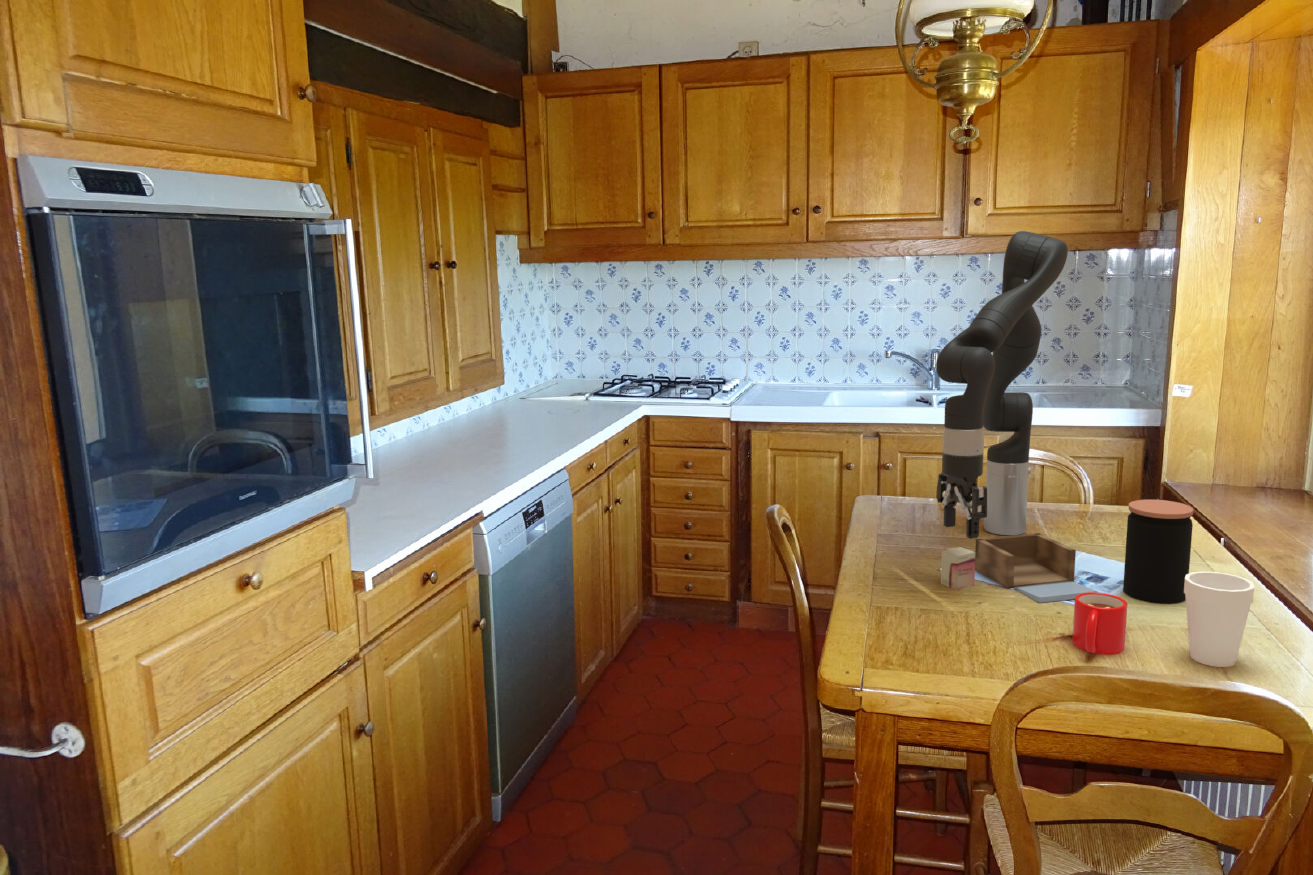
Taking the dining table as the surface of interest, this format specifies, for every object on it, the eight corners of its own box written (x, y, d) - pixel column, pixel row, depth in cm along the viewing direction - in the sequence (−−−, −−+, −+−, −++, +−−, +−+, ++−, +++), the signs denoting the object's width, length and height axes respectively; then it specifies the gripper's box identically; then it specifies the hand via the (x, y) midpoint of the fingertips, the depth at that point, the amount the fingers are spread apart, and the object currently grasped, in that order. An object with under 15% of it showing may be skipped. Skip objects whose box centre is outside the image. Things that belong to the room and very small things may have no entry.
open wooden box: (974, 573, 189) (975, 539, 187) (1037, 567, 192) (1038, 533, 190) (1007, 593, 177) (1009, 556, 176) (1073, 586, 180) (1075, 549, 179)
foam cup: (1183, 666, 144) (1190, 588, 141) (1174, 643, 152) (1179, 569, 150) (1254, 674, 140) (1261, 593, 138) (1240, 650, 149) (1247, 574, 146)
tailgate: (1013, 586, 177) (1038, 597, 169) (1070, 580, 179) (1098, 590, 171) (1013, 591, 177) (1038, 602, 169) (1070, 585, 179) (1098, 596, 171)
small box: (956, 594, 178) (957, 555, 176) (939, 588, 181) (940, 550, 180) (975, 589, 180) (976, 551, 178) (958, 583, 184) (959, 545, 182)
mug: (1063, 657, 148) (1066, 611, 147) (1076, 632, 158) (1079, 589, 157) (1117, 668, 144) (1120, 620, 143) (1127, 641, 154) (1130, 596, 152)
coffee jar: (1180, 591, 175) (1187, 500, 172) (1192, 611, 165) (1199, 515, 162) (1118, 587, 179) (1124, 497, 176) (1126, 606, 169) (1133, 512, 166)
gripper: (1001, 455, 169) (998, 540, 172) (961, 442, 183) (959, 521, 186) (964, 458, 168) (962, 543, 171) (926, 445, 182) (925, 524, 184)
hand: (960, 531), depth 178 cm, fingers open, 8 cm apart
